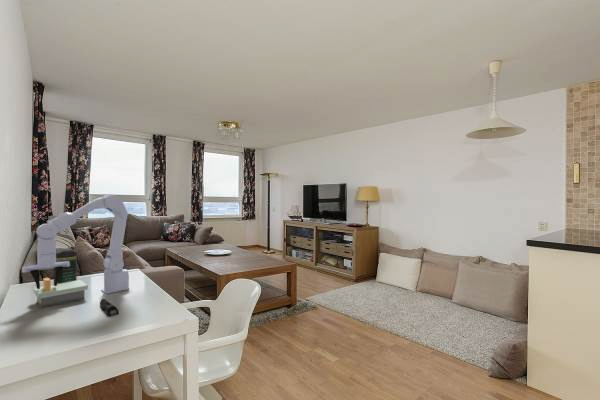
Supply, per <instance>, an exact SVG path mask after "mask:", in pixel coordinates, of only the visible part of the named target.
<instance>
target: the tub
mask: <svg viewBox="0 0 600 400" xmlns="http://www.w3.org/2000/svg"><path fill="white" fill-rule="evenodd" d="M80 300H81V301H82V300H85V290H82V291H77V292H72V293H67V294H62V295H56V296H51V297H46V298H41V299H38V298H37V297H36V303H37V305H38V306H39V307H40V309H43V308H48V307H52V306H57V305H62V304H67V303H71V302H78V301H80Z"/></svg>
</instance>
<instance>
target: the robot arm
mask: <svg viewBox="0 0 600 400" xmlns="http://www.w3.org/2000/svg"><path fill="white" fill-rule="evenodd" d="M99 209H100V210H101V209H106V210H108V211H109V212H111V214H112V215H113V216H114V217H113V224H112V230H111V236H110V242H109V249H108V251H107V252H106V256H105V257H104V259H103V261H102V264H103V266H104V270H103V284H104V285H103V288H100V289H101V292H103V293H104V294H105V295H108V294H112V293H116V292H121V291H127V290H130V284H129V283H130V274H129V270H128V269H126V268H124V266H125V262H124V259H123V258H124V256H123V244H124V240H125V239H124V238H125V232H126V226H127V219H128V213H129V212H128V210H127V209H126V207H125V204H124V200H123V199H122V198H120V197H119V196H118V195H116V194H104V195H102V196H101V197H98V198H95V199H93V200H91V201H89V202H88V203H86V204H84V205H82V206H81V207H79V208H77V209H76V210H73V211H72V212H68V211H67V212H61V213H59V214H58V216H56V217H55V218H53V219H51V220H49V219H48V220H47V221H46V223H42V224H41V225H40V224H39V225H38V227H37V228H36V231H35V233H36V235H37V244H36V249H37V252H36V253H37V262H36V263H37V264H33V265H28V266H22V267H21V272H22V273H28V272H29V273H30V274H31V276H32V278H33V280H34V283H35V287H37V289H40V287H41V283H40V275H41V273H40V271H42V270H43V271H44V270H50V269H53V284H54V286H57V282H58V279H59V277H60V275H61V273H62V271H63V267H69V266H70V262H69V261H66V262H56V251H57V246H56V245H57V242H56V236H57V234H58V233H60V232H62V231H64V230H66V229H67V228H70V227H71V226H73V225H75V224H76V223H77V219H79V218H82V217H83V216H85V215H87V214H89V213H91V212H93V211H94V210H99ZM123 268H124V269H123Z"/></svg>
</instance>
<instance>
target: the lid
mask: <svg viewBox="0 0 600 400" xmlns="http://www.w3.org/2000/svg"><path fill="white" fill-rule="evenodd" d="M51 280H52V279H50V278H49V277H45V278H44V277H43V279H42V281H43V282H42V285H43V286H41V285H40V289H37V286H35V287H33V293H34V295H35V297H36V299H37V298H38V299H41V298H46V297H51V296H56V295H62V294H67V293H72V292H77V291H82V290H84V291H86V290H88V284H87V283H86V282H84V281H83V280H81V279H78V280H77V281H71V282H65V283H59V284H57V286H54V283H53V284H52V283H51V282H52V281H51Z"/></svg>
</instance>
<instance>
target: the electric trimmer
mask: <svg viewBox="0 0 600 400" xmlns="http://www.w3.org/2000/svg"><path fill="white" fill-rule="evenodd" d="M99 306H100V308H101V310H103V311H105V312H106V316H107V317H113V316H118V315H119V308H118V307H117V306H115V305H114V304H113V303H111V302H109V300H107V299H106V298H101V300H100V302H99Z"/></svg>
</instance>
